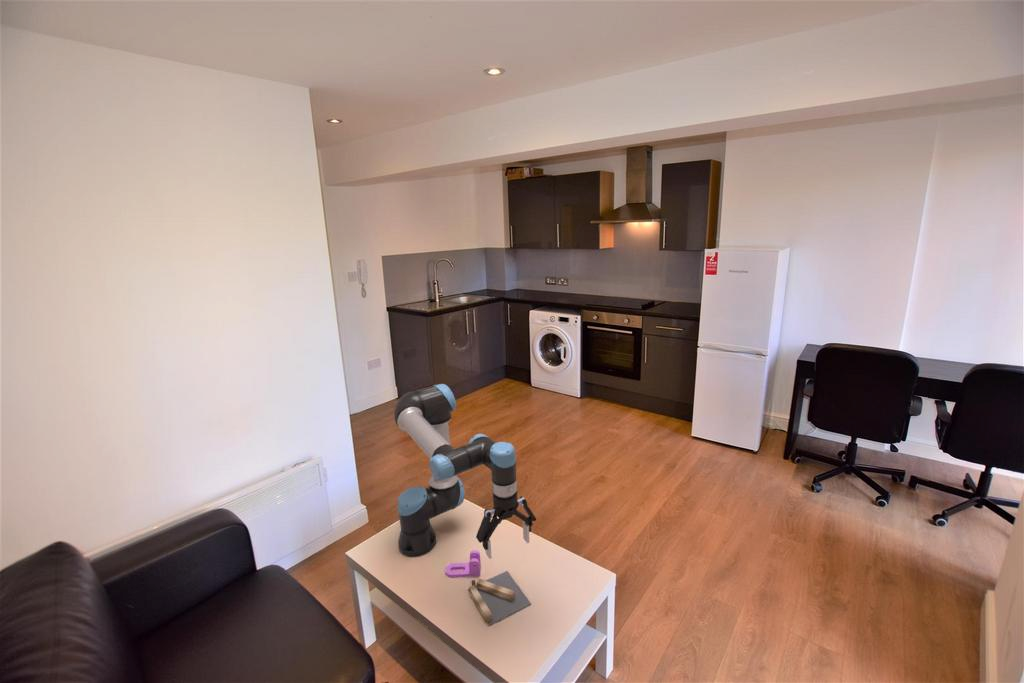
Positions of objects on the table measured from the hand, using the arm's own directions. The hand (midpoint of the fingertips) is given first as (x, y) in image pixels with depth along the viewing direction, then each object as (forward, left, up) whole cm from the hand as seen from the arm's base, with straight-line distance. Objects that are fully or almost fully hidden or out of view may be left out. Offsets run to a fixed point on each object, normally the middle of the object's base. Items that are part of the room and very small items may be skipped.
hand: (508, 548), depth 147 cm
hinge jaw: (-8, -2, -24) cm, 26 cm away
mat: (-6, -1, -25) cm, 26 cm away
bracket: (-24, -7, -25) cm, 36 cm away
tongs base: (-7, -8, -25) cm, 27 cm away
